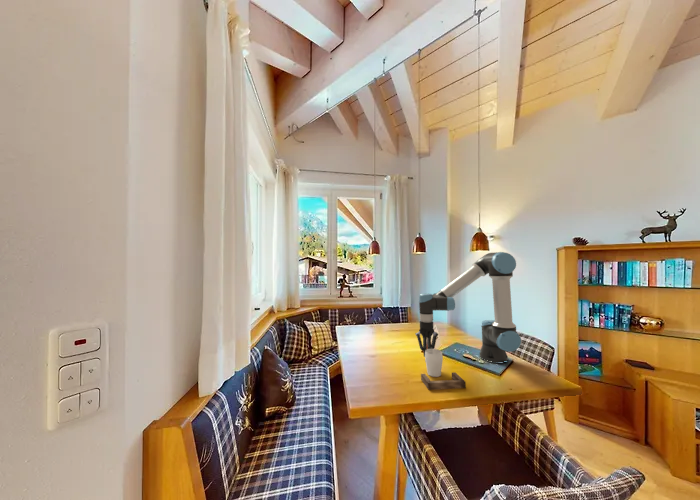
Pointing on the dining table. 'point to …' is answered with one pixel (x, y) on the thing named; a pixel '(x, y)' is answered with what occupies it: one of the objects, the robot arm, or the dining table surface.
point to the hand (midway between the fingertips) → (427, 362)
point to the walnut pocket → (444, 382)
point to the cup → (433, 362)
